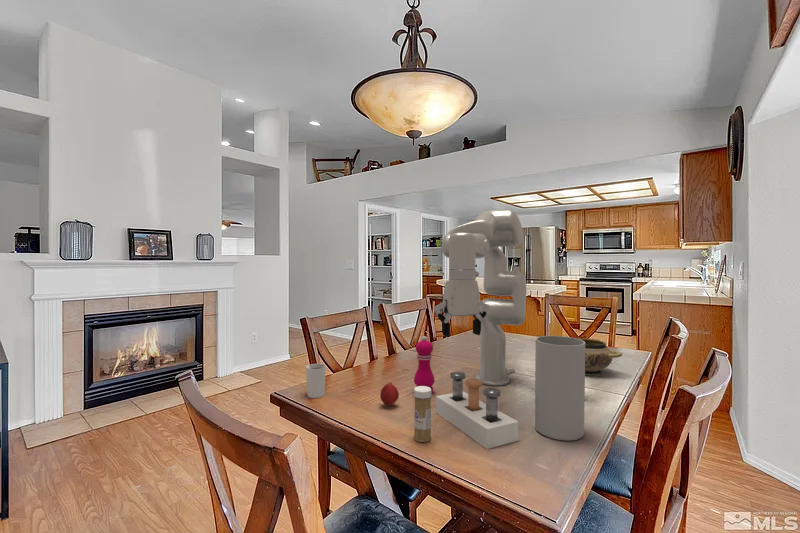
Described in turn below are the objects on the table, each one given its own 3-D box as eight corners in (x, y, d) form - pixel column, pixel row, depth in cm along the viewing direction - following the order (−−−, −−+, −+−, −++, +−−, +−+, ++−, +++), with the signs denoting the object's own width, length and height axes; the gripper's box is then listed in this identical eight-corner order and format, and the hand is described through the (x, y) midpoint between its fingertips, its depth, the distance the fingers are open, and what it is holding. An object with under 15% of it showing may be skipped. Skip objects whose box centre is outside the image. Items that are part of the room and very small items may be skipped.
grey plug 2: (493, 415, 105) (493, 386, 105) (503, 422, 101) (504, 391, 101) (479, 418, 103) (480, 389, 103) (490, 425, 99) (490, 394, 99)
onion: (385, 411, 120) (385, 385, 119) (377, 404, 125) (377, 380, 124) (401, 407, 122) (401, 382, 122) (393, 401, 127) (393, 377, 127)
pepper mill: (433, 397, 131) (433, 338, 131) (412, 395, 133) (412, 337, 132) (435, 389, 139) (435, 334, 138) (415, 388, 140) (415, 333, 139)
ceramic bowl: (623, 380, 158) (624, 343, 160) (618, 380, 143) (620, 339, 146) (560, 370, 172) (562, 336, 174) (550, 369, 158) (552, 332, 160)
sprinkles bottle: (410, 439, 101) (410, 388, 101) (420, 433, 105) (420, 384, 104) (424, 444, 98) (424, 392, 98) (434, 438, 102) (434, 387, 101)
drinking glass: (316, 390, 138) (316, 362, 138) (329, 394, 134) (329, 365, 134) (301, 395, 133) (301, 367, 132) (315, 400, 129) (315, 370, 129)
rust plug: (475, 405, 112) (475, 378, 112) (484, 411, 108) (484, 382, 108) (462, 408, 110) (462, 380, 110) (471, 413, 106) (471, 385, 106)
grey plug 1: (459, 396, 120) (459, 370, 119) (468, 401, 116) (468, 374, 115) (447, 398, 118) (447, 372, 117) (455, 403, 114) (455, 376, 113)
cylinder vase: (559, 445, 98) (560, 347, 97) (525, 425, 109) (525, 338, 108) (594, 436, 103) (596, 343, 102) (558, 418, 114) (559, 334, 113)
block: (463, 406, 123) (463, 391, 123) (518, 440, 100) (518, 421, 100) (435, 412, 119) (435, 396, 119) (487, 448, 96) (487, 429, 96)
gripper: (481, 275, 117) (481, 331, 117) (429, 275, 111) (428, 334, 112) (495, 276, 110) (494, 336, 110) (439, 276, 104) (439, 340, 105)
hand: (461, 335), depth 111 cm, fingers open, 9 cm apart
